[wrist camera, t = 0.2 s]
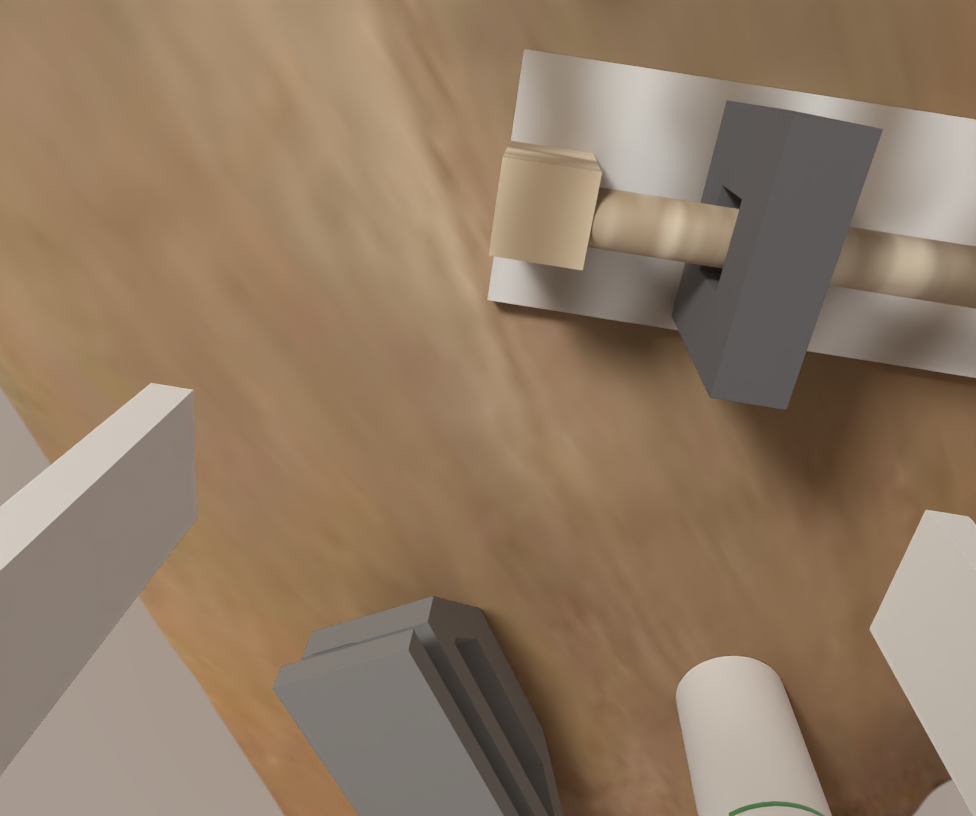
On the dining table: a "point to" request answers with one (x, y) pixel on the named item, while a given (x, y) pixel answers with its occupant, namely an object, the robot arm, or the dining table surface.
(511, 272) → the rail
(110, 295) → the dining table surface
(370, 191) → the dining table surface
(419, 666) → the grey grooved block
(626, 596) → the dining table surface
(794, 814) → the cylindrical container
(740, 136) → the collar
